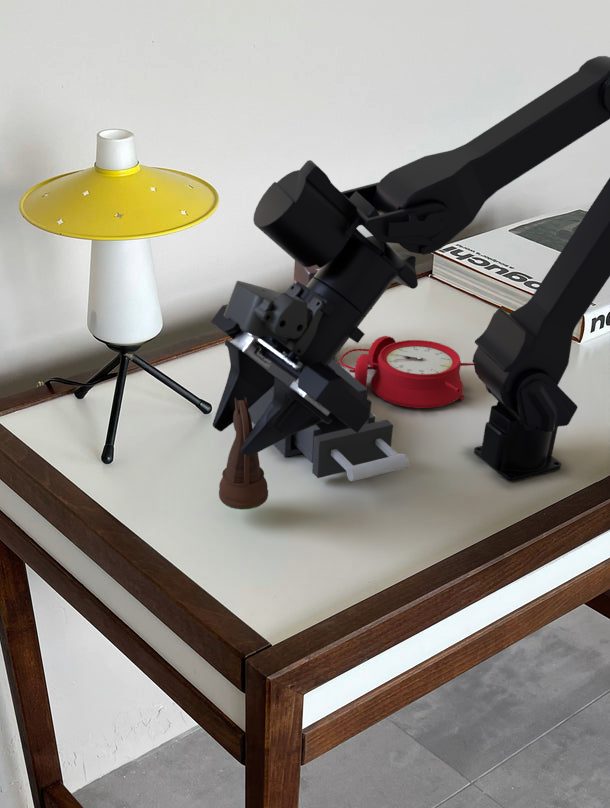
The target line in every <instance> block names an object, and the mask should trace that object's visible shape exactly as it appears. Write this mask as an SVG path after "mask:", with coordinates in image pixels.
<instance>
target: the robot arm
mask: <svg viewBox="0 0 610 808" xmlns="http://www.w3.org/2000/svg"><path fill="white" fill-rule="evenodd" d="M609 120H610V56H608V55H599V56H595V57H593V58H591V59H588V60H586V61H585V62H584V63H583V64H582V65H580V66H579V68H578V70H577V71H575V73H573V74H571V75H570V76H567V78H565V79H563V80H562V81H561V82H559V83H558V84H555V85H554V86H553V87H551V88H550V89H548V90H546V92H544V93H542V94H541V95H538V96H537V97H536V98H534V99H533V100H531V101H530V102H528V103H527V104H525V105H524V106H522V107H521V108H519V109H517V110H516V111H514V112H513V113H511V114H510V115H508V116H507V117H505V118H503V119H502V120H500V121H499V122H497V123H495V124H494V125H493V126H491V127H489V128H488V129H487V130H485V131H483V132H482V133H480V134H479V135H477V136H476V137H474V138H472V139H471V140H469V141H468V142H467V143H464V144H462V145H460V146H458V147H456V148H454V149H451V150H446V151H441V152H438V153H433V154H428V155H425V156H422V157H419V158H417V159H415V160H412V161H410V162H409V163H406V164H404V165H402V166H399V167H397V168H395V169H392V170H391V171H390V172H388V173H387V174H386V175H385V176H384V177H382V178H381V179H380V180H379V181H378V182H375V183H374V182H373V183H370V184H366V185H363V186H359V187H355V188H351V189H347V190H344V191H340V189H338V187H337V186H335V185H334V184H333V183H332V181H331V180H330V178H329V176H328V175H327V174H326V173H325V172H324V171H323V170H322V169H321V167H319V166H318V165H317V164H316V163H315V162H314V161H313V160H311V159H309V160H308V159H307V160H306V162H305V163H303V165H302V166H301V168H300V169H297V170H293V171H290V172H289V173H287V174H286V175H284V176H283V177H281V178H280V179H279V180H278V181H277V182H276V181H274V182H273V183H272V184H271V185H270V186H269V187H268V188H267V189H266V190H265V192H264V194H262V196H261V198H260V199H259V201H258V203H257V206H256V207H255V210H254V213H253V224H254V226H255V227H256V228H257V229H259V230H260V231H261V232H262V233H263V234H264V235H265V236H267V237H268V238H269V239H270V240H271V241H273V242H274V243H275V244H276V245H277V246H278V248H280V249H281V250H283V251H284V252H285V253H286V254H287V255H288V256H289V257H291V258H292V259H293V260H294V262H295V261H296V262H298V263H299V264H300V265H301V266H303V267H311V266H314V265H317V266H318V267H319V268H320V269H319V270H318V272H317V273H316V274H315V276H314V277H313V278H312V279H311V281H310V282H309V283H308V285H307V286H304V285H302V284H301V283H299V282H297V283H296V284H294V283H292V284H291V285H290V286H289V287H288V289H287V290H286V291H285V292H279V291H275V290H273V289H271V288H267V287H264V286H259V285H256V284H253V283H249V282H246V281H242V280H236V282H235V284H234V288H233V289H232V293H231V294H230V297H229V300H228V303H227V304H223V305H221V307H220V308H219V309H218V311H217V312H216V313H215V314H214V316H213V318H212V319H211V320H210V323H212V324H213V325H214V326H215V327H217V328H218V330H220V331H222V332H223V333H224V334H226V335H227V336H228V337H229V338H231V339H232V341H230V340H228V339H227V338H225V339H224V346H225V347H226V348H227V351H228V355H229V362H230V367H229V372H228V376H227V379H226V380H227V381H226V383H225V386H224V389H223V391H222V394H221V397H220V401H219V405H218V407H217V410H216V412H215V416H214V419H213V421H212V427H213V428H214V429H216V430H217V431H218V432H224V431H225V430H226V429H227V428H229V426H231V425H232V424H233V415H234V411H235V410H236V408H235V398H236V400H237V401H238V400H243V401H244V403H245V397H246V399H247V406H248V409H249V408H250V407H251V406H252V405H253V404H254V403H255V402H256V401H258V400H259V399H260V398H261V397H262V396H263V395H264V394H265V393H266V392H268V391H269V390H270V389H271V388H272V387H273V386H274V396H273V400H272V402H271V403H270V405H269V406H268V407H267V409H266V410H265V412H264V413H263V415H262V416H261V418H260V419H259V420H258V422H257V423H256V425H255V424H254V426H253V427H252V428H253V429H252V431H251V432H250V434H249V435H248V437H247V438H246V440H245V442H244V444H243V445H242V447H241V452H242V453H243V454H245V455H246V456H248V457H250V456H252V455H254V454H256V453H258V454H259V452H263V450H266V449H267V448H269V447H271V446H274V445H273V444H275V443H277V442H279V441H281V440H283V439H285V438H287V437H289V436H291V435H293V434H295V433H297V432H299V431H302V430H304V429H307V428H309V427H311V426H314V425H316V424H319V423H321V422H326V423H327V424H329V423H330V422H331V421H332V420H331V419H330V418H329V417H328V415H329V414H330V412H331V413H332V414H333V415H335V416H336V417H337V418H338V419H339V420H340V421H342V422H343V423H344V424H346V425H347V426H348V427H350V428H351V429H352V430H354V431H355V432H356V433H358V432H359V430H360V429H361V428H362V426H363V425H364V424H365V423H366V421H367V420H368V419H369V417H370V416H371V413H372V401H371V400H370V399H369V398H368V397H367V398H366V397H365V396H364V395H362V394H361V393H360V392H359V391H358V390H356V389H355V388H354V387H353V386H352V385H351V384H349V383H348V382H347V381H346V380H345V379H343V378H342V377H341V376H339V375H338V374H336V373H335V372H336V371H334V370H333V369H332V368H331V367H330V366H328V365H329V364H330V362H331V361H332V360H333V359H334V357H335V356H336V357H337V355H338V354H339V352H340V351H341V349H342V348H343V347H344V346H345V344H347V342H348V341H349V339H351V340H352V342H353V341H354V342H355V343H356V344H359V343H360V341H361V339H363V338H364V337H365V333H364V331H362V330H361V328H359V326H360V325H361V323H363V321H364V319H365V318H366V317H367V315H368V314H369V313H370V311H372V309H373V308H374V306H375V305H376V304H377V303H378V301H379V300H380V299H381V297H382V296H383V295H384V294H385V292H386V291H387V289H388V288H389V287H390V286H391V284H392V283H393V282H396V283H398V284H401V285H403V286H405V287H407V288H409V289H412V290H413V289H414V290H415V289H416V288H417V287H418V286H419V282H418V274H417V270H416V269H417V268H416V261H417V257H416V256H415V255H413V254H410V253H414V254H417V255H420V254H421V255H422V256H426V255H430V254H433V253H435V252H438V251H439V250H441V249H443V248H444V247H445V246H447V245H448V244H449V243H450V242H452V240H453V239H454V238H456V237H457V236H459V234H460V233H461V232H463V231H464V230H465V229H466V228H467V227H469V226H470V225H471V224H472V223H473V222H474V221H475V219H476V218H477V216H478V214H479V212H480V211H481V210H482V208H483V206H484V205H485V203H486V202H487V201H488V200H489V199H490V198H491V197H492V196H494V195H495V194H496V193H497V192H499V191H500V190H501V189H503V188H504V187H506V186H508V185H509V184H511V183H512V182H514V181H515V180H517V179H519V178H520V177H522V176H523V175H525V174H526V173H528V172H529V171H531V170H533V169H534V168H536V167H538V166H539V165H541V164H542V163H544V162H545V161H547V160H548V159H550V158H552V157H553V156H555V155H556V154H558V153H559V152H561V151H563V150H564V149H565V148H567V147H568V146H570V145H571V144H573V143H575V142H577V141H578V140H579V139H581V138H582V137H585V136H586V135H588V134H589V133H590V132H592V131H593V130H595V129H597V128H598V127H601V125H603V124H604V123H606V122H608V121H609ZM360 226H362V227H363V228H364V229H365V230H367V231H368V232H369V234H371V235H370V236H365V235H364V234H363V233H362V232H361V231H360V230H359V229H358V228H359V227H360ZM390 244H398V245H399V246H401V247H402V248H403V249H404V250H406V251H407V252H406V251H400V252H397V251H396V250H395V249H394V248H393V247H391V245H390ZM408 252H410V253H408ZM609 279H610V177H609V178H608V180H606V183H605V184H604V185H603V186H602V189H601V190H600V191H599V193H598V195H597V196H596V198H595V200H594V201H593V203H592V204H591V205H590V207H589V209H588V210H587V211H586V213H585V215H584V216H583V217H582V219H581V221H580V222H579V224H578V225H577V227H576V229H575V230H574V232H573V233H572V235H571V236H570V238H569V239H568V241H567V243H565V245H564V247H563V249H562V250H561V252H560V253H559V255H558V256H557V258H556V259H555V261H554V263H553V264H552V266H551V267H550V269H549V270H548V271H547V273H546V274H545V276H544V278H543V279H542V281H541V282H540V284H539V285H538V287H537V289H536V290H535V291H534V293H533V295H532V296H531V297H530V299H529V300H528V302H526V303H525V304H523V305H521V306H520V307H519V308H517V309H515V310H513V311H512V312H510V313H508V312H507V311H506V310H504V309H503V308H501V307H500V308H498V309H496V311H495V312H494V313H493V314H492V316H491V318H490V320H489V323H488V325H487V327H486V329H485V330H484V331H483V332H482V334H480V336H478V337H477V338H476V339H475V340H474V344H475V345H476V346H477V348H476V350H475V351H474V353H473V356H472V363H474V365H473V366H474V373H475V374H476V376H477V377H478V379H479V380H480V381H481V382H482V383H483V384H484V386H485V389H486V391H487V393H489V394H490V395H492V397H494V399H495V400H496V401H497V403H496V404H495V405H492V406H490V412H489V418H488V421H487V422H486V423H485V425H484V432H483V437H482V444H481V445H479V446H476V447H474V449H473V454H474V455H475V456H477V457H478V458H479V459H481V460H482V461H483V462H484V463H485V464H486V465H488V466H489V467H490V468H491V469H493V470H494V471H495V472H496V473H497V474H499V475H500V476H501V477H502V478H503V479H505V480H506V481H508V482H510V483H511V482H517V481H520V480H521V481H522V480H524V479H529V478H532V477H535V476H539V475H544V474H547V473H552V472H555V471H559V470H561V469H562V464H563V463H562V462H561V461H559V460H557V459H556V458H555V457H554V456H553V452H554V448H555V443H556V438H557V432H558V428H559V427H566V426H568V425H569V424H570V423H571V421H572V419H573V417H574V415H575V414H576V412H577V410H578V405H577V404H576V403H575V402H574V401H573V399H571V398H570V396H568V394H567V393H565V392H564V390H563V389H562V388H561V387H560V386H559V384H560V383H561V380H562V378H563V376H564V373H565V372H566V370H567V368H568V366H569V364H570V363H569V362H570V357H571V350H572V343H573V338H574V337H573V336H574V331H575V330H576V328H577V326H578V324H579V323H580V321H581V320H582V318H583V317H584V315H585V314H586V312H587V311H588V309H589V308H590V307H591V305H592V304H593V302H594V301H595V299H596V298H597V297H598V295H599V293H600V292H601V291H602V289H603V288H604V286H605V284H606V283H607V282H608V280H609ZM284 352H285V353H286V354H287V355H286V357H285V356H284V355H282V354H283V353H284ZM271 362H272V363H274V364H275V365H276V366H278V367H279V368H280V369H282V370H283V371H285V372H286V373H287V374H289V375H290V376H291V377H293V378H294V379H295V380H296V381H295V380H294V381H293V382H292V384H291V385H290V386H288V385H286V384H285V383H284V382H282V381H281V380H280V379H278V378H277V377H275V376H274V375H272V374H271V373H270V372H268V371H267V370H268V369H269V368H270V366H271V365H272V364H271ZM298 362H301V363H302V364H303V365H302V366H301V367H299V366H297V363H298ZM237 406H238V403H237Z"/></svg>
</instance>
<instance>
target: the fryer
mask: <svg viewBox="0 0 610 808" xmlns="http://www.w3.org/2000/svg"><path fill="white" fill-rule="evenodd" d="M282 355H284V356H285V357H286V355H287V354H286V353H285V352H283V354H282ZM271 364H272V365H271V366H270V368H269V369H268V370H267V371H268V372H270V373H271V374H272V375H274V376H275V377H277V378H278V379H280V380H281V381H282V382H284V383H285V384H286V385H288V386H290V385H291V384H292V382H293V381H294V380H295V379H294V378H293V377H291V376H290V375H289V374H287V373H286V372H285V371H283V370H282V369H280V368H279V367H278V366H276V365H275V364H274V363H272V362H271ZM302 365H303V364H302V363H301V362H298V363H297V366H299V367H301V366H302ZM328 366H330V367H331V368H332V369H333V370H334V371H336V372H335V373H336V374H338V375H339V376H341V377H342V378H343V379H345V380H346V381H347V382H348V383H349V384H351V385H352V386H353V387H354V388H355V389H356V390H358V391H359V392H360V393H361V394H362V395H364V396H365V397H366V398H367V399H368V394H369V389H368V388H367V386H366V387H364V386H363V385H362V384H361V383H360V382H359V381H357V380H356V379H355V376H353V375H352V374H351V373H350V372H349V371H347V369H345V368H344V367H343V366H342V365H341V364H340V363H338V362H337V361H336V360H335V361H334V360H332V361H331V362H330V364H329V365H328ZM295 381H296V380H295ZM273 396H274V386H273V387H272V388H271V389H270V390H269V391H268V392H266V393H265V394H264V395H263V396H262V397H261V398H260V399H259V400H258V401H256V402H255V403H254V404H253V405H252V406H251V407H250V408H249V409H248V411H249V413H250V416H251V420H252V424H254V426H255V425H256V423H257V422H258V420H259V419H260V418H261V416H262V415H263V413H264V412H265V410H266V409H267V407H268V406H269V405H270V403H271V402H272V400H273ZM272 446H274V447H275V448H276V449H277V450H278V451H279V452H280V454H281V455H282V456H283V457H285V458H287V457H291V456H295V455H300V454H303V453H302V452H301V451H300V450H299V449H298V448H297V447H296V445H295V444H294V443H293V442H292V441H291V436H289V437H287V438H285V439H283V440H281V441H279V442H277V443H275V444H273V445H272Z"/></svg>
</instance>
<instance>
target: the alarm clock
mask: <svg viewBox="0 0 610 808" xmlns="http://www.w3.org/2000/svg"><path fill="white" fill-rule="evenodd" d="M353 352H367V353H362V354H360V355H359V356H358V358H357V360H356V363H355V367H354V366H351V365H347V364H345V363H344V362H343V359H344V358H345V357H346V356H347V355H348V354H350V353H353ZM339 365H340V366H341V367H343V368H347V369H349V373H353V374H354V378H355V379H356V380H357V381H359V382H360V383H361V384H362V385H363V386H364V387H366V388H367V383H368V371H369V370H373V371H375V373H373V375H372V377H371V380H370V382H371V383H370V385H371V389H372V391H373V392H374V393H375V395H377V396H378V397H379V398H380V399H382V400H384V401H386V402H388V403H390V404H394V405H397V406H401V407H406V408H415V409H430V408H438V407H443V406H446V405H449V404H451V403H455V402H456V401H457V400H458V399H461V400H460V402H462V401H463V400H464V399H465V394H463V393H464V392H463V391H464V384H463V381H462V379H461V376H460V371H461V367H467V366H474V363H473V362H462V361H461V358H460V355H459V354H458V352H457V351H455V349H453V348H451V347H450V346H447V345H445V344H443V343H439V342H436V341H431V340H423V339H422V340H421V339H407V340H400V341H396V340H395V338H394V337H391V336H388V335H383V336H380V337H377V338H376V339H375V340H374V341H373V342H372V343H371V345H370V347H369V349H368V348H353V349H349V350H347V351H346V352H344V354H342V355H341V357H339Z"/></svg>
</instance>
